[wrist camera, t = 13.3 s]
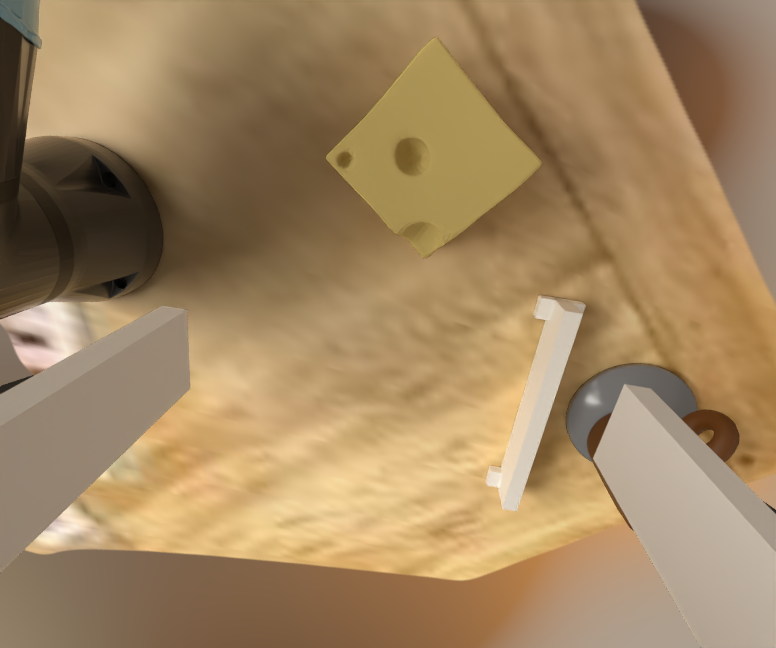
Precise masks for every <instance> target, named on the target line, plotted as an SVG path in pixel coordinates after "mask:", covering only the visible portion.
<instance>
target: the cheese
mask: <svg viewBox="0 0 776 648" xmlns="http://www.w3.org/2000/svg"><path fill="white" fill-rule="evenodd" d="M326 159H327V161H328V162H329V163H330V164H331V165H332V166H333V167H334V168H335V170H336V171H337V172H338V173H339V174H340V175H341V176H342V177H343V178H344V179H345V180H346V181H347V182H348V183H349V184H350V185H351V186H352V187H353V188H354V190H355V191H356V192H357V193H358V194H359V195H360V196H361V197H362V198H363V199H364V200H365V201H366V202H367V203H368V204H369V205H370V207H371V208H372V209H373V210H374V211H375V212H376V213H377V214H378V215H379V217H380V218H381V219H382V220H383V221H384V223H385V224H386V225H387V226H388V227H389V228H390V229H391V230H392V231H393V232H394V233H395V234H397V235H399V236H403V237H405V238H406V239H407V240H408V241H409V242H410V243H411V244H412V246H413V247H414V248H415V249H416V250H417V252H418V253H419V254H420V255H421V256H422V257H423V258H428V257H429V256H431V255H432V254H433V253H434V252H435V251H436V250H437V249H439V248H440V247H442V246H443V245H445V244H446V243H448V242H449V241H451V240H452V239H454V238H455V237H457V236H458V235H459V234H461V233H462V232H463V231H464V230H466V229H467V228H468V227H469V226H470V225H472V224H473V223H474V222H475V221H477V220H478V219H479V218H480V217H481V216H483V215H484V214H485V213H486V212H488V211H489V210H490V209H491V208H493V207H494V206H495V205H497V204H498V203H499V202H501V201H502V200H503V199H505V198H506V197H507V196H508V195H510V194H511V193H512V192H514V191H515V190H516V189H517V188H518V187H520V186H521V185H522V184H523V183H524V182H525V181H526V180H527V179H529V178H530V177H531V176H532V175H533V174H534V173H535V172H536V171H537V170H538V169H539V168H540V167H541V165H542V162H541V160H540V159H539V158H538V157H537V156H536V155H535V153H534V152H533V151H532V150H531V149H530V148H529V147H528V146H527V145H526V144H525V143H524V142H523V141H522V140H521V139H520V138H519V137H518V136H517V135H516V134H515V133H514V132H513V131H512V130H511V129H510V127H509V126H508V125H507V124H506V123H505V122H504V121H503V120H502V119H501V117H500V116H499V115H498V114H497V113H496V111H495V110H494V109H493V108H492V106H491V105H490V104H489V103H488V101H487V100H486V99H485V98H484V96H483V95H482V94H481V92H480V91H479V90H478V88H477V87H476V86H475V85H474V83H473V82H472V81H471V80H470V78H469V77H468V76H467V74H466V73H465V72H464V71H463V69H462V68H461V67H460V65H459V64H458V63H457V62H456V60H455V59H454V58H453V56H452V55H451V54H450V53H449V51H448V50H447V49H446V47H445V46H444V45H443V43H442V42H441V41H440V39H439V38H438V37H435V38H433V39H432V40H430V41H429V42H428V43H427V44H426V45H425V46H424V47H423V48H422V49H421V50H420V52H419V53H418V54H417V55H416V56H415V57H414V59H413V60H412V61H411V62H410V64H409V65H408V66H407V67H406V69H405V70H404V71H403V72H402V73H401V75H400V76H399V77H398V78H397V80H396V81H395V82H394V83H393V84H392V86H391V87H390V88H389V89H388V90H387V92H386V93H385V94H384V95H383V96H382V98H381V99H380V100H379V101H378V102H377V104H376V105H375V106H374V107H373V108H372V109H371V110H370V112H369V113H368V114H367V115H366V116H365V117H364V118H363V119H362V120H361V121H360V122H359V123H358V124H357V125H356V126H355V127H354V128H353V129H352V130H351V131H350V132H349V133H348V134H347V135H346V136H345V137H344V138H343V139H342V140H341V141H340V142H339V143H338V144H337V145H336V146H335V147H334V148H333V149H332V150H331V151H330V152H329V153H328V154H327V156H326Z"/></svg>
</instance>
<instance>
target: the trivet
mask: <svg viewBox="0 0 776 648" xmlns="http://www.w3.org/2000/svg"><path fill="white" fill-rule="evenodd" d="M624 384H627V385H633V386H639V387H645V388H651V389H652V390H653V391H654V392H655V393H656V394H657V395H658V396H659V397H660V398H661V399H662V400H663V401H664V402H665V403H666V404H667V405H668V406H669V407H670V408H671V409H672V410H673V411H674V412H675V413H676V414H677V415H678V416H679V417H680V418H681V419H682V418H683V417H684V416H686V415H688V414H689V413H692V412H694V411H697V403H696V400H695V397H694V395H693V393H692V391H691V390H690V388H689V387H688V386H687V385H686V384H685V383H684V382H683V381H682V380H681V379H680V378H679V377H678V376H676V375H675V374H673V373H672V372H670V371H668V370H666V369H664V368H661V367H659V366H655V365H651V364H643V363H632V364H623V365H619V366H615V367H612V368H609V369H606V370H604V371H602V372H600V373H598V374H596V375H595V376H593V377H591V378H590V379H589V380H587V381H586V382H585V383H584V384H583V385H582V386H581V387H580V388H579V389H578V390H577V392H576V393H575V394H574V396H573V397H572V399H571V401H570V403H569V406H568V409H567V413H566V427H567V432H568V434H569V437H570V439H571V441H572V443H573V444H574V446H575V448H576V449H577V450H578V451H579V453H581V454H582V455H583V456H584V457H585V458H587V459H588V460H590V461H591V462H592V460H591V458H590V456H589V453H588V449H587V438H588V435H589V432H590V430H591V428H592V427H593V426H594V424H595V423H596V422H597V421H598V420H599V419H601V418H602V417H604V416H605V415H607V414H609V413H612V412H613V410H614V408H615V405H616V403H617V401H618V398H619V396H620V393H621V391H622V389H623V386H624Z"/></svg>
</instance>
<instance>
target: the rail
mask: <svg viewBox="0 0 776 648" xmlns="http://www.w3.org/2000/svg"><path fill="white" fill-rule="evenodd" d="M585 306H586V305H585V304H584V303H583V302H580V301H574V300H568V299H562V298H556V297H549V296H543V295H539V296H538V300H537V303H536V307H535V310H534V314H533V315H534V317H535V318H537V319H543V320H545V323H544V327H543V330H542V333H541V336H540V340H539V343H538V346H537V350H536V353H535V356H534V360H533V363H532V366H531V370H530V373H529V376H528V379H527V383H526V386H525V389H524V393H523V396H522V399H521V403H520V406H519V409H518V413H517V416H516V419H515V422H514V426H513V429H512V432H511V436H510V439H509V442H508V446H507V449H506V452H505V456H504V459H503V462H502V465H501V467H497V466H492V465H490V466H489V469H488V473H487V476H486V484H487V486H492V487H497V488H498V490H499V495H500V500H501V505H502V509H507V510H512V511H517V509H518V506H519V503H520V500H521V497H522V494H523V491H524V488H525V485H526V482H527V479H528V476H529V473H530V470H531V467H532V464H533V461H534V458H535V455H536V452H537V450H538V447H539V444H540V441H541V438H542V435H543V432H544V429H545V426H546V423H547V420H548V417H549V414H550V411H551V408H552V405H553V402H554V399H555V396H556V393H557V390H558V387H559V384H560V381H561V378H562V375H563V372H564V369H565V366H566V363H567V360H568V357H569V355H570V352H571V349H572V346H573V343H574V340H575V337H576V334H577V331H578V328H579V325H580V322H581V319H582V316H583V312H584V309H585Z"/></svg>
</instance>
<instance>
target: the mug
mask: <svg viewBox="0 0 776 648" xmlns="http://www.w3.org/2000/svg"><path fill="white" fill-rule="evenodd" d="M611 415H612V413H609V414H607V415H605V416H604V417H602V418H601V419H599V420H598V421H597V422H596V423H595V424H594V426H593V427H592V428H591V430H590V432H589V435H588V438H587V449H588V453H589V456H590V458H591V460H592V462H593V464H594V466H595V468H596V469H597V471H598V473H599V475H600V477H601V479H602V481H603V483H604V485H605V487H606V489H607V491H608V492H609V494H610V496H611V498H612V500H613V502H614V504H615V506H616V507H617V509H618V511H619V512H620V514H621V515H622V516H623V518H624V520H625V521H626V523H627V524H628V526H629V527H630V528H631V529H632V530H633V528H632V527H631V525H630V523H629V521H628V519H627V518H626V516H625V514H624V512H623V511H622V509H621V507H620V505H619V504H618V502H617V500H616V498H615V497H614V495H613V493H612V491H611V489H610V488H609V486H608V484H607V482H606V481H605V479H604V477H603V475H602V474H601V472H600V470H599V468H598V467H597V465H596V463H595V461H594V460H593V457H594V455H595V453H596V450H597V448H598V446H599V443H600V441H601V438H602V436H603V434H604V431H605V429H606V427H607V424H608V422H609V419H610V417H611ZM682 420H683V421H684V422H685V423H686V424H687V425H688V426H689V428H690V429H691V430H692V431H693V432H694V433H695V434H696V435H697V436H698V435H699V434H700V433H702V432H703V431H705V430H713V431H714V436H713V438H712V439H711V441H710V442H708V443H707V444H706V445H707V446H708V447H709V448H710V449H711V450H712V451H713V452H714V453H715V454H716V455H717V456H718V457H719V458H720V459H721V460H722V461H723V462H725V461H727V460H728V459H729V458H730V457H731V456H732V454H733V453H734V452H735V450H736V448H737V446H738V444H739V432H738V430H737V427H736V425H735V423H734V422H733V421H732V420H731V419H730V418H729V417H728V416H726V415H724V414H722V413H720V412H717V411H713V410H699V411H694V412H692V413H689V414H688V415H686V416H684V417H683V418H682ZM633 531H634V530H633Z"/></svg>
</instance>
